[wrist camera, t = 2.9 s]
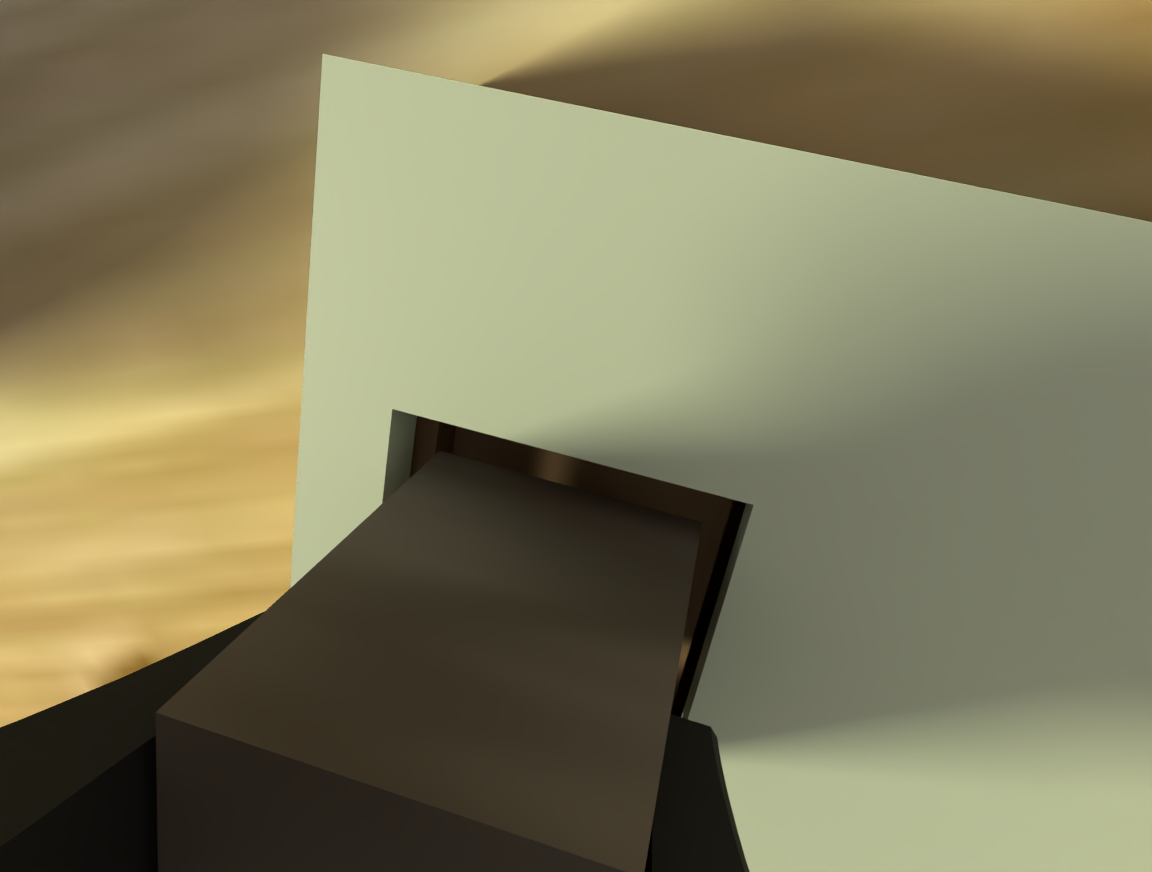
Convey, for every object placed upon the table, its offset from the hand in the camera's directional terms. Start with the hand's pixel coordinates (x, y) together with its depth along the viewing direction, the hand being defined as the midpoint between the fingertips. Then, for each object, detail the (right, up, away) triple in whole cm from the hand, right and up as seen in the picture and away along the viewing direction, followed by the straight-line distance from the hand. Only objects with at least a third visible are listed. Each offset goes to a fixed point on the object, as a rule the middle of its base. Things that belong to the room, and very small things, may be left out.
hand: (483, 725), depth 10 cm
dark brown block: (+1, +1, +3) cm, 3 cm away
